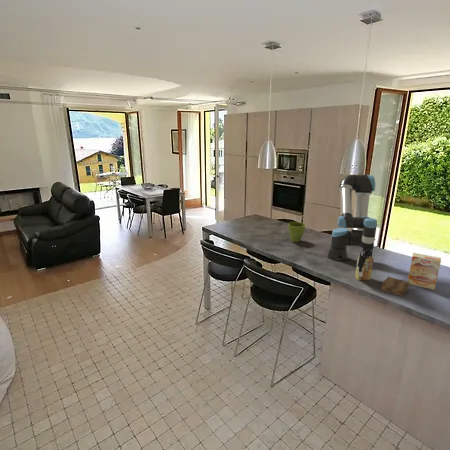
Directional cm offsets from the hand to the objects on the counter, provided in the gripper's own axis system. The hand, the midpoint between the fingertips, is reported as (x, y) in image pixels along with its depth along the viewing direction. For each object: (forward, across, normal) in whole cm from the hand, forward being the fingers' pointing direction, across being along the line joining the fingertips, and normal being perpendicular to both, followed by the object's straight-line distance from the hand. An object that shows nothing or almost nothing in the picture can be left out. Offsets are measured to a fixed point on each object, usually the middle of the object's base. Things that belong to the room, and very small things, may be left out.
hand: (363, 273), depth 202 cm
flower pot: (+4, +30, +75) cm, 81 cm away
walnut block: (+4, 0, -20) cm, 20 cm away
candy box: (+4, 0, 0) cm, 4 cm away
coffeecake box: (+4, +19, -29) cm, 35 cm away
